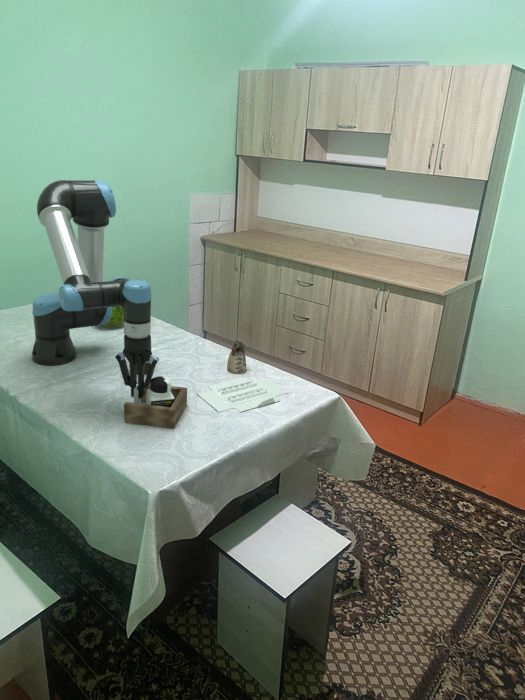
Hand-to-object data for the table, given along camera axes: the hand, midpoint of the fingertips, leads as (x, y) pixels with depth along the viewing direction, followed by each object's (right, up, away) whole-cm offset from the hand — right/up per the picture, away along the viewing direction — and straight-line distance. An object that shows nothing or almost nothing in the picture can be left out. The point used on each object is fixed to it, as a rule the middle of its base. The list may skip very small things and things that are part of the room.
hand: (137, 406), depth 163 cm
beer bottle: (-5, +10, +28) cm, 30 cm away
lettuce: (-30, +29, +72) cm, 83 cm away
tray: (+32, +2, +17) cm, 36 cm away
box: (+5, -2, +1) cm, 6 cm away
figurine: (+29, +10, +34) cm, 46 cm away
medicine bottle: (+7, -3, 0) cm, 7 cm away
